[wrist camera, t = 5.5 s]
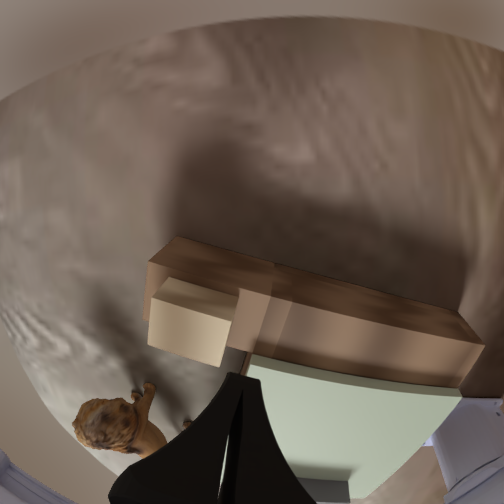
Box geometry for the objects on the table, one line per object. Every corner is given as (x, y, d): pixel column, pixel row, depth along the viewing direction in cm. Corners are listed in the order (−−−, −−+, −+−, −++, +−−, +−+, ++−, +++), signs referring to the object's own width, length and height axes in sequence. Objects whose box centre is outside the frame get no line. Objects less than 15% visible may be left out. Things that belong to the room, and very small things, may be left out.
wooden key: (239, 297, 16) (231, 321, 14) (227, 340, 17) (219, 367, 15) (168, 276, 17) (151, 297, 14) (163, 320, 18) (147, 344, 15)
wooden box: (457, 312, 21) (485, 345, 16) (358, 455, 28) (363, 490, 23) (176, 235, 21) (148, 261, 16) (156, 414, 28) (140, 448, 23)
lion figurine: (98, 373, 27) (56, 432, 19) (125, 354, 26) (78, 421, 17) (195, 453, 30) (177, 514, 21) (228, 443, 28) (213, 511, 20)
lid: (458, 388, 17) (474, 420, 14) (363, 490, 23) (366, 516, 20) (252, 353, 18) (245, 394, 14) (210, 471, 23) (203, 500, 20)
